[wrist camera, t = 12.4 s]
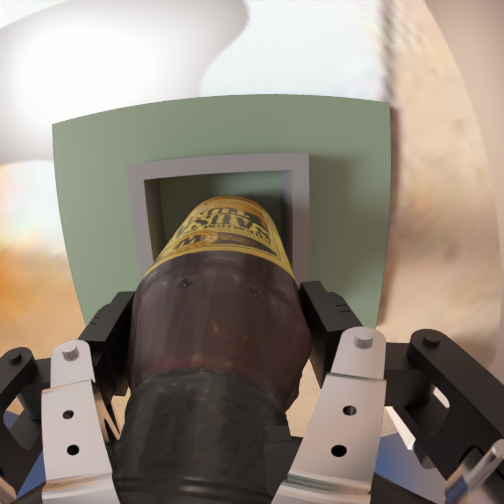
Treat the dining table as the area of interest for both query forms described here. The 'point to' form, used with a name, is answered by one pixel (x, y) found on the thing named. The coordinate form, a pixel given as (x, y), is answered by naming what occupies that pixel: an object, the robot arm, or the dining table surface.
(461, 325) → the dining table surface
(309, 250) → the deck plate
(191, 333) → the sauce bottle
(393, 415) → the jar
